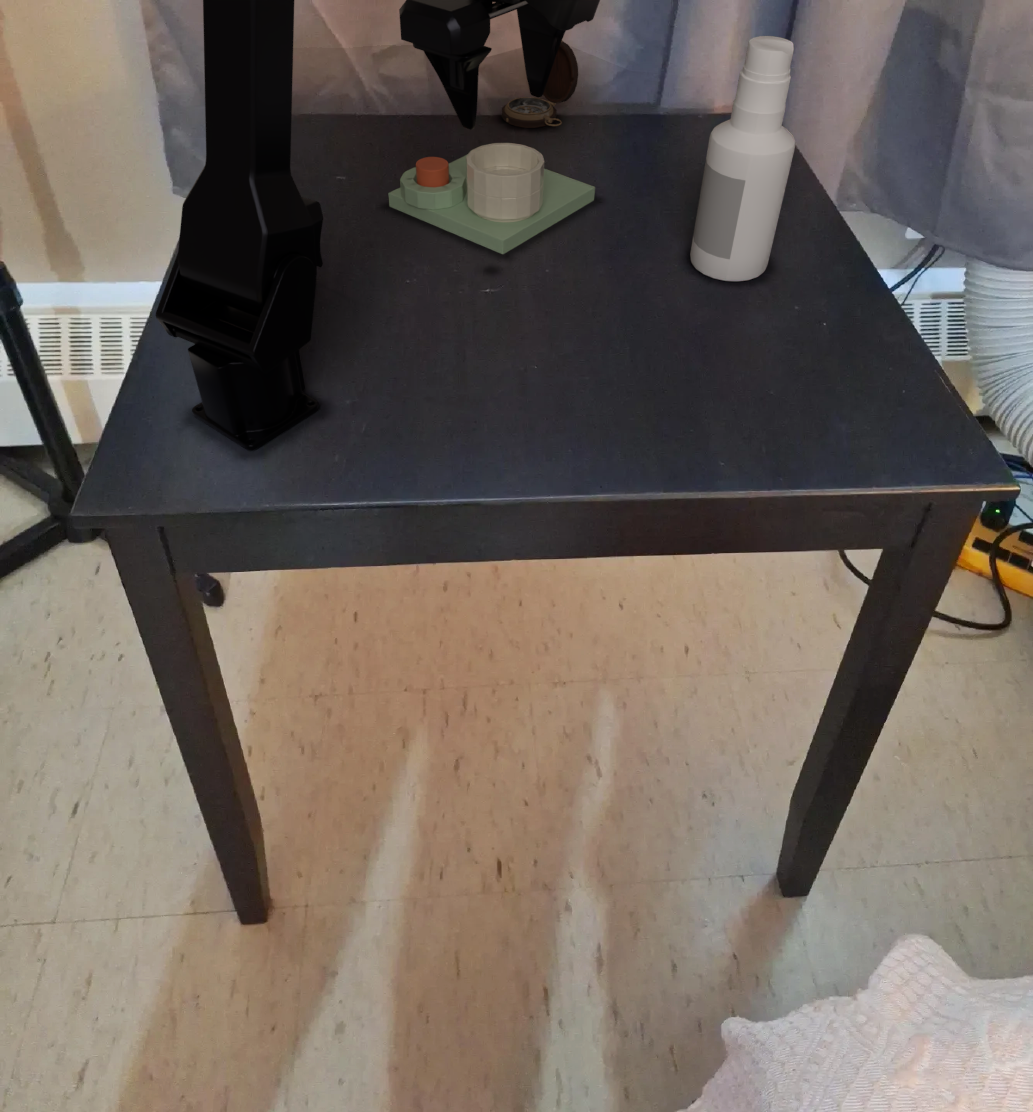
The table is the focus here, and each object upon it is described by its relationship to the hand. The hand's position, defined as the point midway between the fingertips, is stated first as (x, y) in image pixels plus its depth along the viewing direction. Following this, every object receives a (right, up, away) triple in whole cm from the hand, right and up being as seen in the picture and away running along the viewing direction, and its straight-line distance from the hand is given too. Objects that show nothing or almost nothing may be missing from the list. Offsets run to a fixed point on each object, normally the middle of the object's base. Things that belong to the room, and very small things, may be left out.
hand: (503, 111), depth 81 cm
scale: (-1, -4, +9) cm, 11 cm away
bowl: (0, -6, +6) cm, 9 cm away
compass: (+4, +10, +24) cm, 26 cm away
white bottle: (+20, -12, +3) cm, 24 cm away
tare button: (-7, -3, +7) cm, 10 cm away
